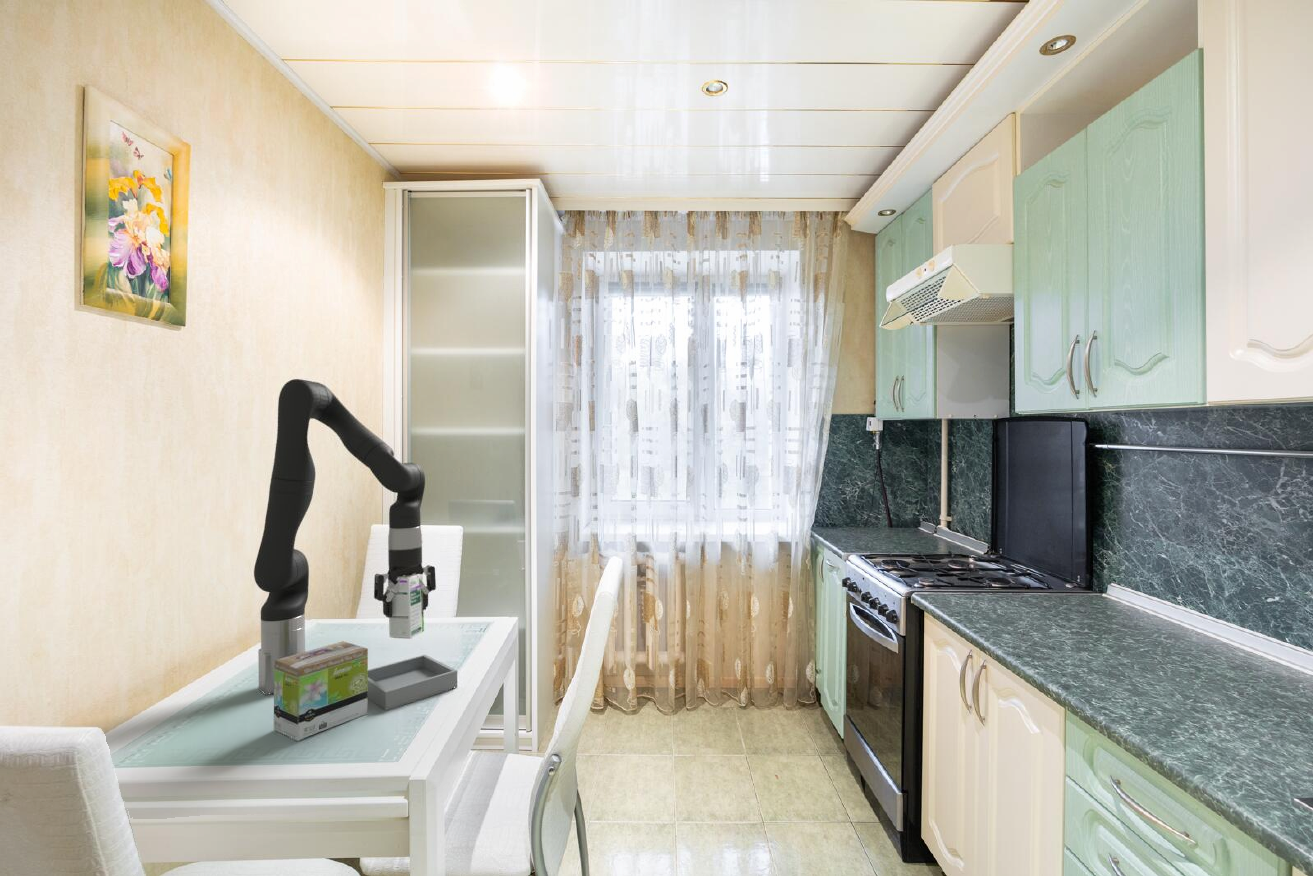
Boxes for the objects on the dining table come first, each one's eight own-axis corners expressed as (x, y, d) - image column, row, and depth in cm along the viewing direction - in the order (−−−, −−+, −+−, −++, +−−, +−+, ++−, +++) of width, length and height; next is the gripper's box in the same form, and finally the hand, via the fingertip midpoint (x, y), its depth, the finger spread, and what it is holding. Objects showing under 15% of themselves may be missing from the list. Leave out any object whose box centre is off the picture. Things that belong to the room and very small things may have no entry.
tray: (386, 710, 134) (385, 692, 134) (356, 689, 146) (356, 673, 146) (457, 687, 147) (457, 670, 147) (425, 669, 158) (425, 654, 158)
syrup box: (410, 639, 143) (409, 577, 143) (388, 638, 144) (387, 576, 144) (424, 631, 149) (423, 572, 149) (402, 630, 150) (402, 571, 150)
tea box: (298, 743, 120) (298, 668, 120) (272, 731, 126) (272, 659, 126) (369, 714, 133) (368, 646, 133) (343, 704, 138) (342, 639, 138)
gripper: (426, 540, 154) (427, 604, 154) (368, 548, 144) (369, 616, 144) (440, 543, 149) (441, 609, 149) (381, 551, 139) (382, 622, 139)
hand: (406, 613), depth 147 cm, fingers closed on syrup box, 8 cm apart
